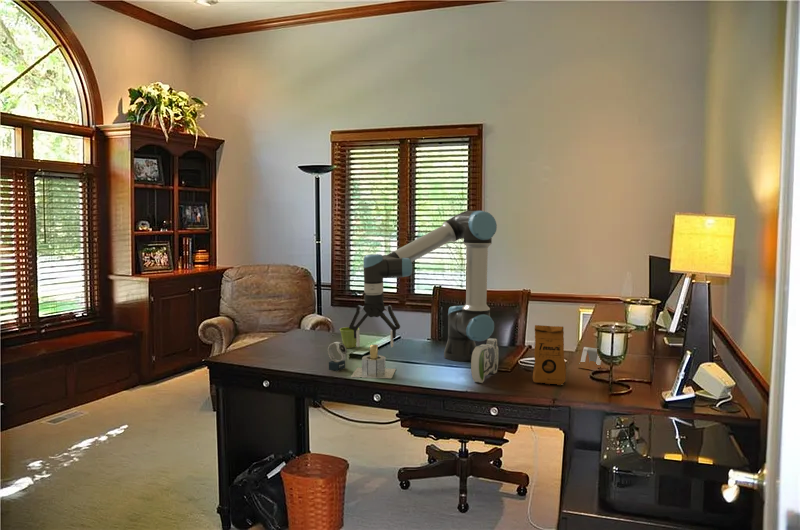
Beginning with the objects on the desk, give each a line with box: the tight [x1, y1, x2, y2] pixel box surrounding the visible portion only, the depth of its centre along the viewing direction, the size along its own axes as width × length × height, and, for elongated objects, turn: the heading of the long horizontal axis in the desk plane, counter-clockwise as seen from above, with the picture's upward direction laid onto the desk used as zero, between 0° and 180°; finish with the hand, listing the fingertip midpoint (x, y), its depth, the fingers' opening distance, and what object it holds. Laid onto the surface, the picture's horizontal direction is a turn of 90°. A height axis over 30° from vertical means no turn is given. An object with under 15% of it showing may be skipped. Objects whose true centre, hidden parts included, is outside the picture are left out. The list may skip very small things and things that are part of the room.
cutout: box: [470, 337, 499, 384], centre depth 244 cm, size 15×3×25 cm
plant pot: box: [339, 326, 360, 349], centre depth 298 cm, size 9×9×9 cm
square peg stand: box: [350, 344, 397, 379], centre depth 250 cm, size 16×14×11 cm
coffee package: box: [532, 324, 567, 386], centre depth 237 cm, size 10×12×22 cm
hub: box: [361, 354, 387, 376], centre depth 251 cm, size 9×9×6 cm
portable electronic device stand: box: [580, 346, 602, 366], centre depth 259 cm, size 9×8×8 cm
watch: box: [327, 341, 348, 372], centre depth 257 cm, size 6×8×11 cm
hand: (375, 346), depth 250 cm, fingers open, 13 cm apart
